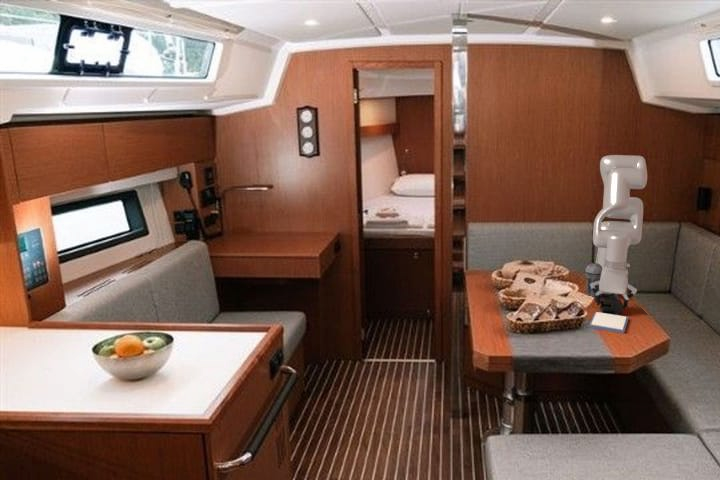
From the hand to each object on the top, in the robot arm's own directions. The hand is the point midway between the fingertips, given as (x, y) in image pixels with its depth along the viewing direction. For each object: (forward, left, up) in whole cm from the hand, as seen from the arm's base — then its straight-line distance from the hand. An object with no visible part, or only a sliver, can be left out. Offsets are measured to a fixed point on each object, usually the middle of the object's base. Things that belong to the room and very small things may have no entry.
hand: (611, 306), depth 233 cm
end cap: (0, 0, -2) cm, 3 cm away
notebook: (+15, +1, -2) cm, 15 cm away
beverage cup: (-14, -9, -2) cm, 17 cm away
